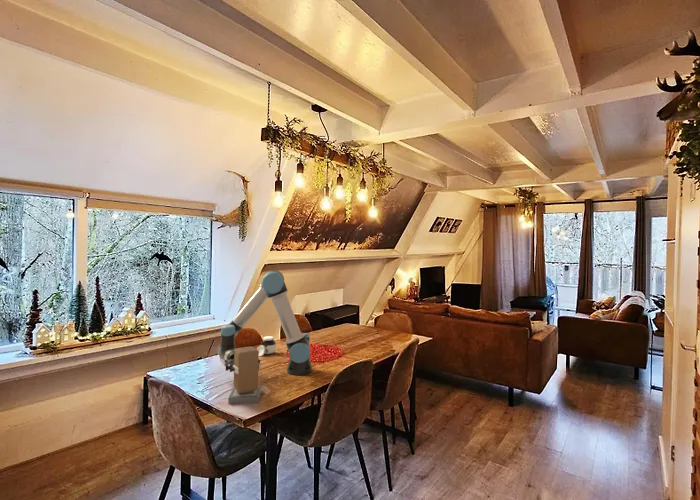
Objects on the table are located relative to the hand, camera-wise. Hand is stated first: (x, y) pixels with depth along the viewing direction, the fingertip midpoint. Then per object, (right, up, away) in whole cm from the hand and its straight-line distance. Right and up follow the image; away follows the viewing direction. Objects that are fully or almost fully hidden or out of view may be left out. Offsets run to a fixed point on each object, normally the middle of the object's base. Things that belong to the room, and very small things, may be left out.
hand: (249, 369), depth 187 cm
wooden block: (-3, -11, +3) cm, 12 cm away
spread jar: (-9, -14, +77) cm, 79 cm away
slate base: (-3, -15, +4) cm, 16 cm away
